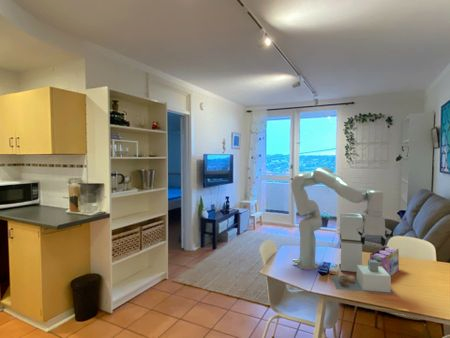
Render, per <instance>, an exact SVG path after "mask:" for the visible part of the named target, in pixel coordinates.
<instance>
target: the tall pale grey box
mask: <svg viewBox="0 0 450 338" xmlns="http://www.w3.org/2000/svg"><path fill="white" fill-rule="evenodd" d="M363 221H364V217H363V216H362V214H361V213H349V212H340V213H339V241H340V245H341V246H340V263H339V264H338V267H339V270H340V272H341V273H346V274H347V273H348V274H355V275H357V265H363V244H362V242H361V236H360V235H359V233H358V232H357V230H356V228H357V227H360V226H362V225H363ZM360 232H361V233H362V232H363V229H360Z"/></svg>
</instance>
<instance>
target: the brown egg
mask: <svg viewBox="0 0 450 338" xmlns="http://www.w3.org/2000/svg"><path fill="white" fill-rule="evenodd" d="M346 276H347V277H348V278H349V283H354V278H356V276H354V275H352V274H348V275H346Z"/></svg>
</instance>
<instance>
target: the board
mask: <svg viewBox="0 0 450 338" xmlns="http://www.w3.org/2000/svg"><path fill="white" fill-rule="evenodd" d="M339 278H340V276H335V275H331V279H332V281H333V284H334V286H335V288H336V290H343V291H353V292H355V291H356V292H364V293H375V294H388V295H395V292H394V291H393V290H392V289H390V292H379V291H368V290H363V289H362V287H361V286H360V284H359V283H358V281H357V279H356V278H357V277H355V278H354V283H349V287H347V286H341V285H340V283H339Z"/></svg>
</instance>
